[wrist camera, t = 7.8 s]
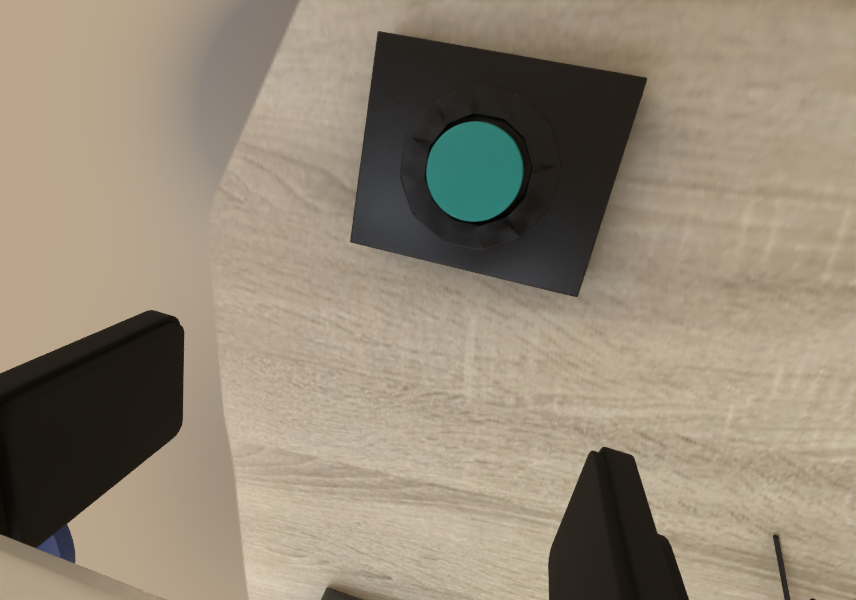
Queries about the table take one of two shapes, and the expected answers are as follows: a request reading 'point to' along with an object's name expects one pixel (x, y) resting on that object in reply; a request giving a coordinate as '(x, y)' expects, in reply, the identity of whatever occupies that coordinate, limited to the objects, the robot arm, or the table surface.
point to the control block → (532, 131)
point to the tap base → (336, 595)
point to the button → (475, 171)
